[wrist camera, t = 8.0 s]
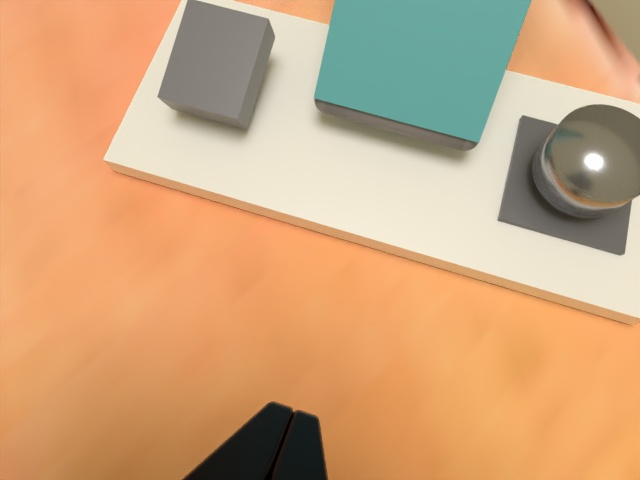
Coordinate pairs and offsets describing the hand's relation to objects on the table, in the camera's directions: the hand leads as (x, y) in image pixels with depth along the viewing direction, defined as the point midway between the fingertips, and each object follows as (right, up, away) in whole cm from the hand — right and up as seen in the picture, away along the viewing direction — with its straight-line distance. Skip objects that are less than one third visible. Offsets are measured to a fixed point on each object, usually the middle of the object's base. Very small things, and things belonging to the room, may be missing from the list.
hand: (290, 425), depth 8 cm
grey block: (-4, +11, +13) cm, 17 cm away
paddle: (+4, +8, +12) cm, 15 cm away
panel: (+4, +7, +15) cm, 17 cm away
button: (+11, +6, +12) cm, 18 cm away
